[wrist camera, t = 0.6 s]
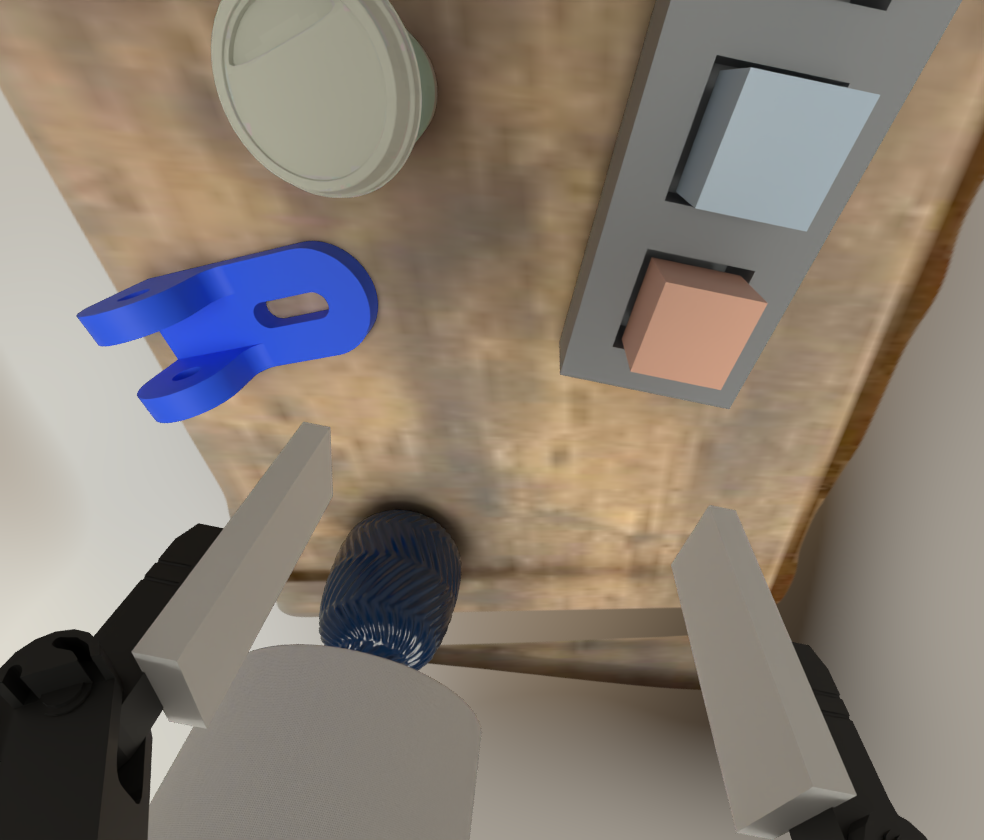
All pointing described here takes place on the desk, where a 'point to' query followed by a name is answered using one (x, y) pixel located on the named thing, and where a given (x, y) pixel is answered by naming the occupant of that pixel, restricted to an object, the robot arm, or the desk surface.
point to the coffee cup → (323, 89)
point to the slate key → (772, 146)
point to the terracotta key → (690, 323)
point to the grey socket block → (670, 136)
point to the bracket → (237, 321)
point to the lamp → (341, 713)
